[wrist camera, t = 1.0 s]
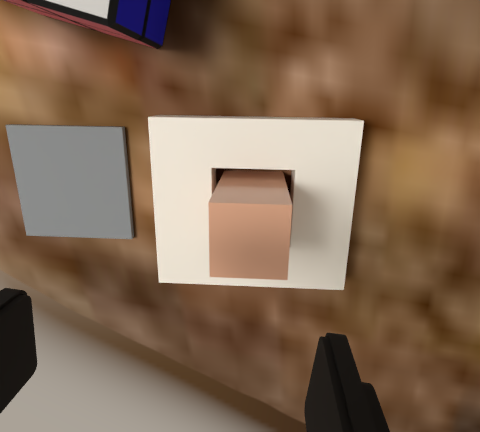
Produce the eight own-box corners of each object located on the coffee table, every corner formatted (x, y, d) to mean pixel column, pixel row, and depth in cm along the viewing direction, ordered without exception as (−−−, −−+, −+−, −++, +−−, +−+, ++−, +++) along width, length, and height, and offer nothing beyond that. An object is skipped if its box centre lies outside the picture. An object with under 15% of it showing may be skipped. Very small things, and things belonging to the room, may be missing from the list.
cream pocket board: (354, 118, 29) (364, 120, 26) (336, 273, 33) (343, 290, 30) (158, 115, 30) (148, 116, 27) (167, 266, 34) (158, 282, 31)
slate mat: (124, 126, 30) (121, 127, 30) (134, 236, 33) (131, 239, 33) (10, 124, 31) (5, 125, 30) (30, 232, 34) (26, 235, 33)
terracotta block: (282, 171, 31) (292, 204, 21) (279, 226, 32) (287, 280, 23) (224, 170, 31) (208, 202, 21) (224, 224, 32) (209, 276, 23)
